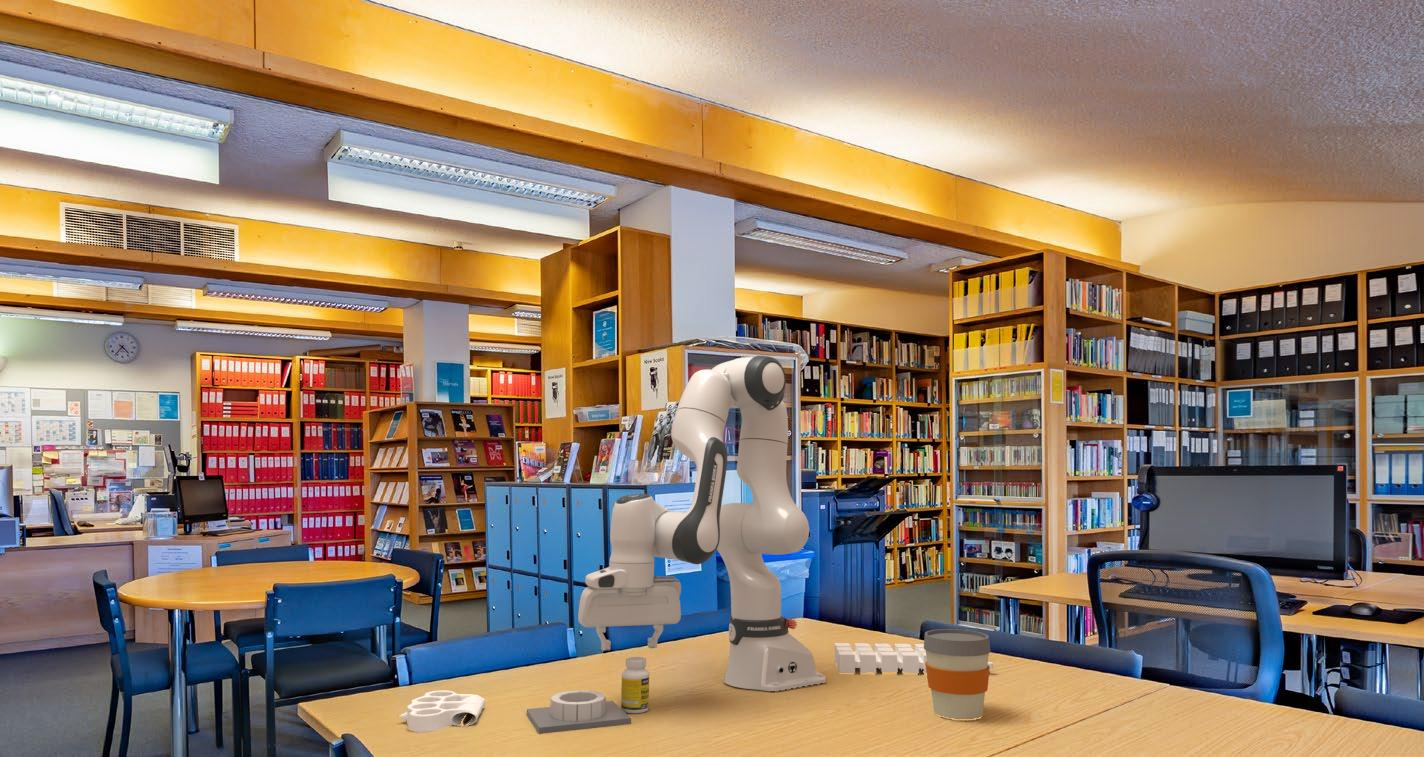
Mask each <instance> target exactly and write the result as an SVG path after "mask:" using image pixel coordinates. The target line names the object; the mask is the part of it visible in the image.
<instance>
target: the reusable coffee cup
mask: <svg viewBox="0 0 1424 757" xmlns="http://www.w3.org/2000/svg"><path fill="white" fill-rule="evenodd" d="M923 641H924V642H923V644H924V649H925V650H926V657H927V662H926V663H925V665H926V672H927V676H926V677H927V685H928V688H929V689H930V692H931V698H932V699H931V700H932V705H933V712H935V713H936V714H938V715H940V716H944V717H948V718H954V719H974V718H979V717H981V716H982V715H983V716H984V705H985V695H986V692H988V688H989V687H988V686H989V679H990V678H989V677H990V670H991V669H990V667H989V665H988V662H989V656H990V653H991V652H992V650H991V646H990V645H991V643H990V636H989V635H988V634H986V633H983V632H981V631H975V630H969V629H968V630H967V629H956V628H954V629H953V628H944V629H943V628H942V629H931V630H928V631H925V632H924V639H923ZM935 713H934V714H935Z"/></svg>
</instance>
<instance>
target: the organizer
mask: <svg viewBox="0 0 1424 757" xmlns="http://www.w3.org/2000/svg"><path fill="white" fill-rule="evenodd" d="M893 646H894V649H893V648H892V646H891V645H890V643H874V645H873V647H874V649H873V648H872V647H871V645H870V643H866V642H863V643H859V642H857V643H856V642H855V643H854V650H853V649H852V647H851V645H850V643H849V642H834V663H835V662H836V663H837V665H836V668H837V667H838V669H837V671H838V670H839V671H838V673H839V672H840V673H855V674H856V668H857V669H858V668H859V670H860V672H861V673H867V672H873V673H874V672H875V673H876V674H877V669H878V668H880V670H881V671H882V672H898V670H899V668H901V670H902V671H903V672H906V673H907V672H909V673H910V672H911V673H919V674H920V669H922V670H923V671H924V672H925V673H927V672H926V665H925V663H926V662H927V657H926V650H925V649H924V643H914V648H913V647H912V645H910V644H909V643H894V644H893ZM988 665H989V667H990V670H994V662H992V661H988ZM859 670H858V671H859ZM880 670H879V671H880ZM901 670H900V671H901ZM860 672H859V673H860Z"/></svg>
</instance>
